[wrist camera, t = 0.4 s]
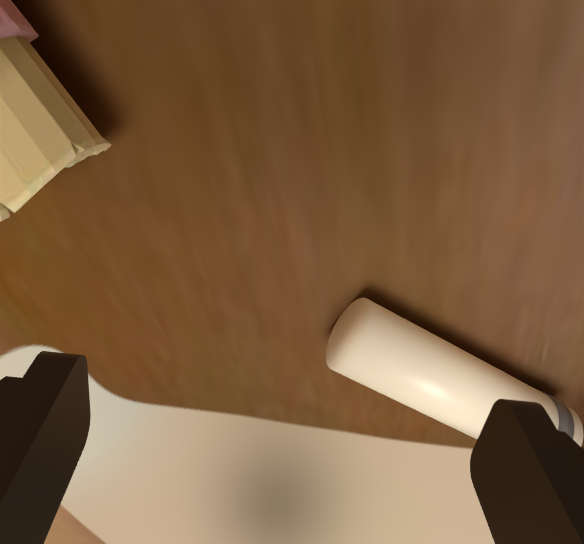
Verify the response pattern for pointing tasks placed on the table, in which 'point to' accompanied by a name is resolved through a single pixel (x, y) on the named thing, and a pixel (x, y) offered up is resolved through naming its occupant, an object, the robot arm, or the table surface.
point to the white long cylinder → (429, 371)
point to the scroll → (34, 117)
